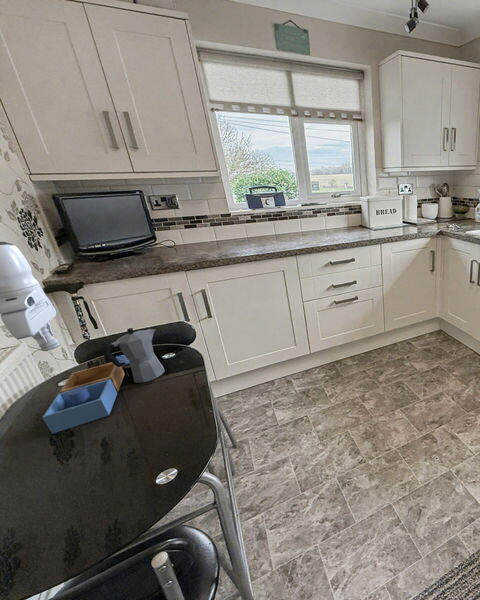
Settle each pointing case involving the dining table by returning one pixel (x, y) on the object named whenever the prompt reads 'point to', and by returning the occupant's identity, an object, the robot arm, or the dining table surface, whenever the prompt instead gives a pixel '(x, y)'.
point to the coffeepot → (137, 355)
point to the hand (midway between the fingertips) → (46, 340)
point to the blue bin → (80, 407)
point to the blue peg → (79, 396)
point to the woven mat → (124, 359)
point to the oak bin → (95, 377)
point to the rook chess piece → (51, 342)
